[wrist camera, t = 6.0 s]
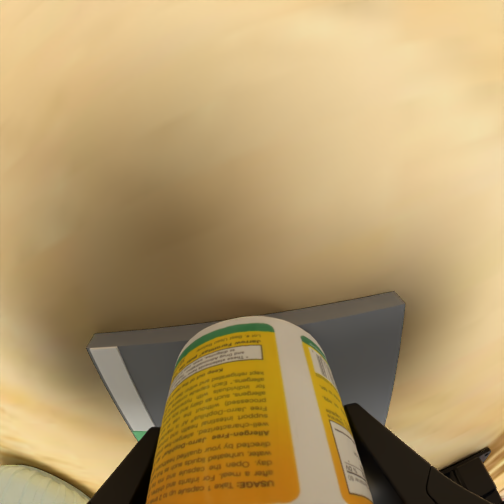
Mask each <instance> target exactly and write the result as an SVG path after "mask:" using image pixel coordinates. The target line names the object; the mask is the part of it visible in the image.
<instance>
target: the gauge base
mask: <svg viewBox="0 0 504 504" xmlns="http://www.w3.org/2000/svg"><path fill="white" fill-rule="evenodd" d="M404 312H405V303H404V301H403V300H402V299H401V298H400V297H399V296H398V295H397V294H396V293H395V291H393V292H388V293H383V294H378V295H373V296H369V297H364V298H358V299H353V300H348V301H343V302H338V303H332V304H327V305H321V306H315V307H310V308H304V309H298V310H292V311H286V312H279V313H273V314H266V315H260V316H265V317H272V318H277V319H281V320H285V321H287V322H290V323H292V324H294V325H296V326H298V327H300V328H301V329H303V330H304V331H306V332H307V333H309V334H310V335H311V336H312V337H313V338H314V339H315V340H316V341H317V343H318V344H319V345H320V347H321V348H322V350H323V352H324V354H325V357H326V359H327V362H328V364H329V367H330V370H331V372H332V375H333V378H334V381H335V384H336V387H337V390H338V392H339V395H340V398H341V402H342V405H343V406H344V405H346V404H350V403H358V404H359V405H360V406H361V407H363V408H364V409H365V410H366V411H367V412H368V413H369V414H371V415H372V416H373V417H374V418H375V419H376V420H378V421H379V422H380V423H381V424H382V425H384V426H385V422H386V418H387V413H388V409H389V404H390V400H391V395H392V390H393V385H394V380H395V374H396V368H397V363H398V356H399V350H400V343H401V336H402V329H403V320H404ZM224 321H225V320H224ZM219 322H222V321H217V322H209V323H201V324H192V325H184V326H175V327H165V328H156V329H145V330H135V331H123V332H111V333H97V334H94V336H93V337H92V339H91V341H90V342H89V344H88V346H87V347H86V349H87V351H88V353H89V355H90V357H91V359H92V361H93V363H94V365H95V367H96V369H97V371H98V373H99V375H100V377H101V379H102V381H103V383H104V385H105V387H106V389H107V390H108V392H109V394H110V396H111V398H112V399H113V401H114V403H115V405H116V407H117V408H118V410H119V412H120V413H121V415H122V417H123V418H124V420H125V422H126V423H127V425H128V427H129V428H130V430H131V432H132V433H133V435H134V436H135V438H136V439H137V441H138V442H139V440H140V439H141V438H142V437H143V436H144V434H145V433H146V432H147V431H148V429H149V428H151V427H161V424H162V419H163V415H164V411H165V406H166V401H167V397H168V393H169V389H170V385H171V381H172V377H173V373H174V369H175V365H176V362H177V359H178V356H179V354H180V352H181V351H182V349H183V348H184V346H185V345H186V344H187V343H188V341H189V340H190V339H191V338H192V337H194V336H195V335H196V334H197V333H198V332H200V331H201V330H203V329H205V328H207V327H209V326H211V325H213V324H216V323H219Z"/></svg>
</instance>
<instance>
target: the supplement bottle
mask: <svg viewBox="0 0 504 504" xmlns="http://www.w3.org/2000/svg"><path fill="white" fill-rule="evenodd" d="M146 504H374V503H373V499H372V495H371V492H370V489H369V486H368V482H367V480H366V477H365V473H364V470H363V467H362V464H361V461H360V457H359V454H358V451H357V448H356V444H355V441H354V438H353V435H352V432H351V429H350V426H349V423H348V420H347V416H346V414H345V411H344V408H343V405H342V402H341V398H340V395H339V392H338V390H337V387H336V384H335V381H334V378H333V375H332V372H331V370H330V367H329V364H328V362H327V359H326V357H325V354H324V352H323V350H322V348H321V347H320V345H319V344H318V343H317V341H316V340H315V339H314V338H313V337H312V336H311V335H310V334H309V333H307V332H306V331H304V330H303V329H301V328H300V327H298V326H296V325H294V324H292V323H290V322H287V321H285V320H281V319H277V318H272V317H265V316H247V317H239V318H235V319H230V320H225V321H222V322H219V323H216V324H213V325H211V326H209V327H207V328H205V329H203V330H201V331H200V332H198V333H197V334H196V335H195V336H194V337H192V338H191V339H190V340H189V341H188V343H187V344H186V345H185V346H184V348H183V349H182V351H181V352H180V354H179V356H178V359H177V362H176V365H175V369H174V373H173V377H172V381H171V385H170V389H169V393H168V397H167V401H166V406H165V411H164V415H163V419H162V424H161V429H160V434H159V439H158V444H157V449H156V453H155V458H154V463H153V469H152V473H151V478H150V484H149V489H148V495H147V500H146Z"/></svg>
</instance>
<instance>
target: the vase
mask: <svg viewBox="0 0 504 504" xmlns="http://www.w3.org/2000/svg"><path fill="white" fill-rule="evenodd" d="M88 501H91V500H90V498H89V497H88V496H86V495H85V494H84V493H83V492H81V491H80V490H78V489H77V488H75V487H74V486H72V485H70V484H69V483H67V482H65V481H63V480H62V479H60V478H58V477H56V476H54V475H52V474H49V473H47V472H45V471H42V470H40V469H37V468H34V467H31V466H26V465H2V466H0V504H87V502H88Z"/></svg>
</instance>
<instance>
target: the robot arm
mask: <svg viewBox="0 0 504 504" xmlns="http://www.w3.org/2000/svg"><path fill="white" fill-rule="evenodd" d="M343 408H344V411H345V414H346V416H347V420H348V423H349V426H350V429H351V432H352V435H353V438H354V441H355V444H356V448H357V451H358V454H359V457H360V461H361V464H362V467H363V470H364V473H365V477H366V480H367V482H368V486H369V489H370V492H371V495H372V499H373V503H374V504H504V501H503V500H502V498H501V497H500V495H499V493H498V491H497V489H496V485H495V483H494V482H493V480H492V478H491V476H490V475H489V473H488V471H487V469H486V468H485V466H484V464H483V463H484V461H485V460H486V458H487V457H488V455H489V454H490V452H491V450H490V449H489V448H487V449H485V450H483V451H482V452H480V453H478V454H476V455H474V456H472V457H470V458H468V459H466V460H464V461H462V462H460V463H458V464H456V465H454V466H452V467H449V468H447V469H445V470H443V471H438V470H437V469H436V468H435V467H433V466H431V464H430V463H428V462H427V461H426V460H425V459H423V458H422V457H421V456H420V455H418V454H417V453H416V452H415V451H414V450H412V449H411V448H410V447H409V446H407V445H406V444H405V443H404V442H403V441H401V440H400V439H399V438H398V437H397V436H395V435H394V434H393V433H392V432H391V431H389V430H388V429H387V428H386V427H385V426H384V425H382V424H381V423H380V422H379V421H378V420H376V419H375V418H374V417H373V416H372V415H371V414H369V413H368V412H367V411H366V410H365V409H364V408H363V407H361V406H360V405H359V404H358V403H350V404H346V405H344V406H343ZM160 429H161V427H151V428H149V429H148V431H147V432H146V433H145V434H144V436H143V437H142V438H141V439H140V440H139V442H138V443H137V444H136V445H135V447H134V448H133V449H132V450H131V451H130V453H129V454H128V455H127V456H126V457H125V459H124V460H123V461H122V462H121V464H120V465H119V466H118V467H117V468H116V470H115V471H114V472H113V473H112V474H111V475H110V477H109V478H108V479H107V480H106V481H105V483H104V484H103V485H102V486H101V487H100V488H99V490H98V491H97V492H96V493H95V494H94V496H93V497H92V498H91V499H90V500H91V501H88V502H87V504H146V500H147V495H148V489H149V484H150V478H151V473H152V469H153V463H154V458H155V453H156V449H157V444H158V439H159V434H160ZM430 466H431V467H430Z"/></svg>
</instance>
